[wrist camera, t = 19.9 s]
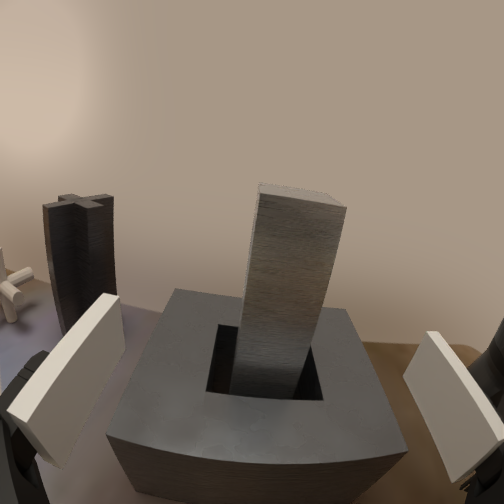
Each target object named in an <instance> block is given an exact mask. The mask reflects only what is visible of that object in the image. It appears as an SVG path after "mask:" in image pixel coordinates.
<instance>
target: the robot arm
mask: <svg viewBox="0 0 504 504" xmlns="http://www.w3.org/2000/svg"><path fill="white" fill-rule="evenodd" d="M125 350H126V347H125V340H124V332H123V324H122V316H121V306H120V297H119V296H115V295H111V294H106V293H103V294H102V295H101V296H100V297H99V298H98V299H97V300H96V301H95V302H94V303H93V305H92V306H91V307H90V308H89V309H88V310H87V311H86V312H85V313H84V314H83V316H82V317H81V318H80V319H79V320H78V321H77V322H76V323H75V325H74V326H73V327H72V328H71V329H70V330H69V331H68V333H67V334H66V335H65V336H64V337H63V338H62V340H61V341H60V342H59V343H58V344H57V346H56V347H55V348H54V349H53V350H52V352H51V353H49V352H46V351H44V350H42V351H41V352H39V353H37V354H36V355H34V356H32V357H31V358H30V360H29V361H28V362H27V363H26V364H25V365H24V368H23V369H21V370H20V372H19V373H18V374H17V376H15V378H14V379H13V380H12V381H11V383H10V384H9V385H8V387H7V388H6V389H5V390H4V392H3V393H2V394H1V396H0V504H50V503H49V500H48V497H47V494H46V491H45V489H44V486H43V482H42V479H41V476H40V473H39V469H38V466H37V463H36V460H35V458H34V457H35V455H36V453H38V454H39V455H40V456H41V457H42V458H43V460H44V461H46V462H48V463H50V464H52V465H54V466H56V467H58V468H60V469H62V470H63V469H64V466H65V464H66V462H67V460H68V458H69V456H70V454H71V452H72V449H73V447H74V445H75V443H76V441H77V439H78V437H79V435H80V433H81V431H82V429H83V427H84V425H85V423H86V421H87V419H88V417H89V415H90V413H91V412H92V410H93V408H94V406H95V404H96V402H97V400H98V398H99V396H100V395H101V393H102V391H103V389H104V387H105V385H106V383H107V382H108V380H109V378H110V376H111V374H112V373H113V371H114V369H115V367H116V366H117V364H118V362H119V360H120V359H121V357H122V355H123V353H124V352H125ZM403 378H404V380H405V382H406V384H407V386H408V388H409V390H410V392H411V394H412V396H413V398H414V400H415V402H416V404H417V406H418V408H419V410H420V412H421V414H422V416H423V418H424V420H425V422H426V424H427V427H428V429H429V431H430V433H431V435H432V437H433V440H434V442H435V444H436V446H437V449H438V451H439V453H440V456H441V458H442V460H443V463H444V465H445V468H446V470H447V472H448V475H449V477H450V480H451V483H454V482H457V481H459V480H461V479H464V478H465V477H467V476H468V475H469V474H470V473H471V472H472V471H474V470H475V471H476V474H475V475H473V476H472V477H471V478H470V479H469V480H467V481H466V482H465V483H464V484H463V485H461V487H460V489H459V490H462V489H463V488H465V487H466V486H467V485H468V484H470V485H469V486H468V487H467V488H466V489H465V490H464V491H466V492H468V494H467V497H466V501H465V504H504V318H503V320H502V322H501V324H500V326H499V328H498V330H497V332H496V334H495V336H494V338H493V340H492V341H491V343H490V345H489V347H488V348H487V350H486V351H485V352H484V353H483V354H482V355H481V356H480V357H479V358H477V359H476V360H475V361H474V362H473V363H472V364H471V365H470V366H469V367H468V368H467V369H466V367H465V366H464V365H463V363H462V362H461V361H460V359H459V358H458V357H457V355H456V354H455V353H454V351H453V350H452V349H451V348H450V346H449V345H448V344H447V342H446V341H445V340H444V339H443V338H442V336H441V335H440V334H439V332H434V331H432V332H430V331H429V332H427V331H426V333H425V335H424V337H423V339H422V341H421V343H420V345H419V347H418V349H417V351H416V353H415V355H414V357H413V358H412V360H411V362H410V364H409V366H408V368H407V369H406V371H405V373H404V375H403Z"/></svg>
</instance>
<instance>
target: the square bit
mask: <svg viewBox="0 0 504 504" xmlns="http://www.w3.org/2000/svg"><path fill="white" fill-rule="evenodd" d="M346 209H347V207H346V206H344V205H343V204H341V203H340V202H339V201H337V200H336V199H334V198H332V197H331V196H330V195H328V194H326V193H322V192H316V191H310V190H304V189H299V188H292V187H286V186H280V185H273V184H267V183H259V186H258V193H257V200H256V207H255V214H254V222H253V228H252V235H251V242H250V249H249V256H248V263H247V270H246V277H245V283H244V291H243V297H242V305H241V312H240V319H239V326H238V333H237V340H236V347H235V354H234V361H233V368H232V375H231V382H230V390H229V395H235V396H244V397H254V398H267V399H282V400H291V399H292V397H293V394H294V391H295V388H296V386H297V383H298V380H299V377H300V374H301V372H302V369H303V366H304V363H305V360H306V357H307V354H308V351H309V348H310V345H311V342H312V338H313V335H314V332H315V329H316V326H317V322H318V319H319V316H320V312H321V309H322V305H323V301H324V298H325V295H326V291H327V288H328V284H329V280H330V277H331V273H332V269H333V265H334V261H335V257H336V253H337V249H338V244H339V241H340V236H341V232H342V227H343V223H344V219H345V214H346Z"/></svg>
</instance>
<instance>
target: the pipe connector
mask: <svg viewBox="0 0 504 504" xmlns="http://www.w3.org/2000/svg"><path fill="white" fill-rule="evenodd" d="M33 278H34V275H33V271H32V269H31V268H30V267H27V268H25V269H22V270H20V271H18V272H16V273H13V274H11V275H9V276H7V275H6V270H5V265H4V259H3V255H2V248H1V247H0V300H1V303H2V307H3V310H4V314H5V317H6V320H7V322H8V323H13V322H15V321H16V320H17V314H16V311H15V308H14V305H15V306H21V305H22V304H23V302H24V295H23V293H22V292H21V291H19V290H18V289H17V288H16V287H18V286H20V285H22V284H24V283H26V282H29V281H31V280H33Z"/></svg>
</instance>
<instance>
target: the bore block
mask: <svg viewBox="0 0 504 504" xmlns="http://www.w3.org/2000/svg"><path fill="white" fill-rule="evenodd" d="M241 305H242V298H237V297H231V296H223V295H216V294H208V293H202V292H195V291H188V290H182V289H175V290H174V292H173V294H172V296H171V298H170V300H169V302H168V303H167V305H166V307H165V309H164V311H163V313H162V315H161V317H160V319H159V321H158V323H157V325H156V327H155V329H154V331H153V333H152V335H151V337H150V339H149V341H148V343H147V345H146V347H145V349H144V351H143V353H142V355H141V357H140V359H139V361H138V363H137V366H136V368H135V370H134V372H133V374H132V376H131V378H130V380H129V383H128V385H127V387H126V389H125V391H124V393H123V396H122V398H121V400H120V402H119V404H118V407H117V409H116V411H115V413H114V416H113V418H112V420H111V423H110V425H109V427H108V430H107V432H106V436H107V438H108V440H109V443H110V445H111V447H112V449H113V451H114V453H115V455H116V457H117V459H118V460H119V462H120V464H121V466H122V468H123V470H124V472H125V473H126V475H127V477H128V479H129V480H130V482H131V484H132V485H133V487H134V489H135V490H136V491H138V492H142V493H145V494H149V495H153V496H157V497H161V498H166V499H171V500H175V501H181V502H186V503H192V504H350V503H351V502H352V501H353V500H355V499H356V498H357V497H359V496H360V495H361V494H362V493H364V492H365V491H366V490H367V489H368V488H370V487H371V486H372V485H373V484H374V483H375V482H377V481H378V480H379V479H380V478H381V477H382V476H383V475H384V474H385V473H387V472H388V471H389V470H390V469H391V468H392V467H393V466H394V465H395V464H396V463H397V462H398V461H399V460H400V459H401V458H402V457H403V456H404V455H405V454H406V453H407V452H408V451H409V450H408V448H407V445H406V443H405V440H404V438H403V435H402V433H401V430H400V428H399V425H398V423H397V420H396V418H395V416H394V413H393V411H392V408H391V406H390V404H389V401H388V399H387V397H386V395H385V392H384V390H383V388H382V385H381V383H380V381H379V379H378V376H377V374H376V372H375V370H374V368H373V365H372V363H371V361H370V359H369V357H368V355H367V353H366V350H365V348H364V346H363V344H362V342H361V340H360V338H359V336H358V334H357V332H356V330H355V328H354V326H353V324H352V322H351V319H350V317H349V315H348V313H347V312H346V309H338V308H327V307H322V309H321V312H320V316H319V319H318V322H317V326H316V329H315V332H314V335H313V338H312V342H311V345H310V348H309V351H308V354H307V357H306V360H305V363H304V366H303V369H302V372H301V374H300V377H299V380H298V383H297V386H296V388H295V391H294V394H293V397H292V399H291V400H282V399H267V398H254V397H244V396H235V395H229V390H230V382H231V375H232V368H233V361H234V354H235V347H236V340H237V333H238V326H239V319H240V312H241Z"/></svg>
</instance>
